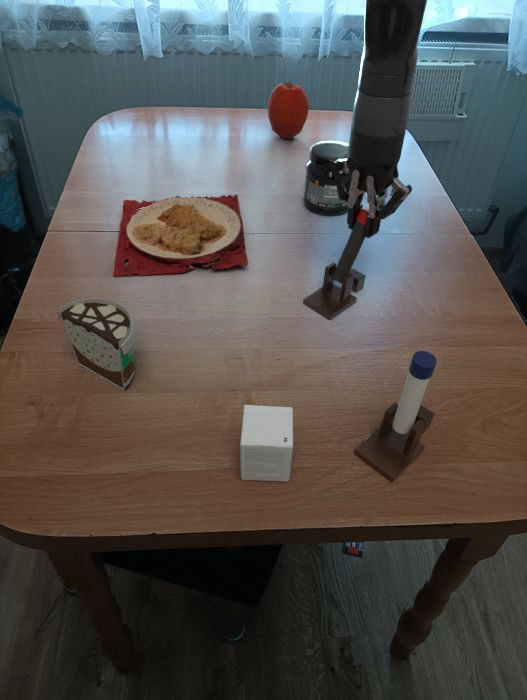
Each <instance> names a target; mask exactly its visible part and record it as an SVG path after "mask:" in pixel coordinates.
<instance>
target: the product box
mask: <svg viewBox="0 0 527 700" xmlns="http://www.w3.org/2000/svg"><path fill="white" fill-rule="evenodd" d="M241 421H242V422H241V433H240V442H239V450H240V451H239V452H240V453H239V454H240V456H239V457H240V462H239V463H240V480H241V481H259V482H260V481H261V482H283V483H284V482H285V483H288V482H290V480H291V471H292V460H293V452H294V408H293V407H292V406H273V405H256V404H255V405H254V404H244V405H243V413H242V420H241Z"/></svg>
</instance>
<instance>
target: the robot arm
mask: <svg viewBox="0 0 527 700" xmlns="http://www.w3.org/2000/svg"><path fill="white" fill-rule="evenodd" d="M427 3H428V0H365V3H364V4H365V5H364V24H363V25H364V26H363V27H364V31H363V32H364V33H363V38H364V39H363V40H364V41H363V42H364V43H363V44H364V45H363V52H362V55H361V61H360V70H359V76H358V85H357V91H356V95H355V99H354V103H353V108H352V117H351V125H350V132H349V133H350V134H349V141H348V144H349V148H348V153H349V156H348V158H347V159H346V158H342V159H339V160H337V161H336V162H334V163H332V170H333V174H334V178H335V183H336V187H337V191H338V195H339V199H340V200H342V201H343V200H345V201H346V202H347V206H348V207H349V209H348V210H347V218H346V223H347V225H348V226H347V228H348V229H349V230H351V231H352V229H353V227H354V225H355V222H356V219H357V216H358V214H359V212H360V209H361V208H363V209H364V205H363V204H362V203H363V201H364V198H365V195H366V203H367V204H368V210H369V216H368V217H367V223H366V229H365V235H364V236H365V238H366V239H371V238H373V237H374V236H375V235H376V234H378V233H379V232H380V228H381V222H382V220H385V219H387V218H388V217H390V216H391V215H394V214H395V213H396V211H397V210H398V209H399V208H400V206H402V204H403V203H404V202H405V200H406V199H407V198H408V196H409V195H410V194H411V193H412V191H413V187H412V185H411V184H408V183H407V184H406V185H405V184H404V183H403V182H402V181H401V180H400V178H399V176H400V175H399V170H398V165H399V162H400V160H401V157H402V152H403V146H404V141H405V137H406V132H407V126H408V120H409V117H410V111H411V97H412V92H413V91H412V90H413V86H414V80H415V75H416V70H417V64H418V56H419V55H418V53H419V49H418V44H419V38H420V34H421V30H422V25H423V20H424V16H425V11H426V7H427ZM351 178H352V179H351ZM344 183H345V187H346V191H345V187H344ZM390 187H391V190H390V193H389V195H390V198H389V199H388V201H387V202H386V199H387V198H388V189H389V188H390Z"/></svg>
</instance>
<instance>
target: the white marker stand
mask: <svg viewBox="0 0 527 700" xmlns="http://www.w3.org/2000/svg"><path fill="white" fill-rule="evenodd" d="M398 405H399V403H397V402H393V403H392V404H390V406H389V407H387V408H386V409H385V411H384V413H383V417H382V421H381V424H380V425H379V426H378V427H377V428H376V429H375V430H374V431H372V433H370V435H369V436H368V437H366V438H365V439H364V440H363V441H362V442H361V443H360V444H359V445H358V446H357V447H356V448H355V449H354V452H353V454H354V455H355V456H356V457H357V458H359V459H360V460H361V461H363V462H364V463H365V464H367V465H368V466H370V468H372V469H373V470H375V472H377V473H379V474H380V475H381V476H383V478H385V479H386V480H388V482H390V483H394V482H395V481H396V480H397V479H398V478H399V477H400V476H401V475H402V474H403V473H404V472H405V471H406V470H407V468H408V467H409V466H411V464H412V463H413V462H414V461H415V460H416V459H417V458H418V457H419V456H420V455H421V454H422V453H423V452H424V450H425V448H426V446H425V445H424V444H422V443H421V442H420V439H421V437H422V435H423V434H424V433H425V432H426V431H427V430H428V429H429V428H430V427H431V425H432V421H433V419H434V416H435V412H433V411H431V410H430V409H429V408H427V407H425V406H424V405H422V404H421V405H420V407H419V410H418V413H417V416H416V419H415V421H414V424H413V427H412V428H411V430H410V432H409V433H407V434H400V433H398V432H396V431H395V430H394V428H393V426H392V424H393V421H394V417H395V414H396V411H397V408H398Z"/></svg>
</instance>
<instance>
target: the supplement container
mask: <svg viewBox="0 0 527 700" xmlns="http://www.w3.org/2000/svg"><path fill="white" fill-rule="evenodd" d="M348 148H349V143H347V142H343V141H338V140H325V141H324V140H323V141H318V142H316V143H313V144H312V145H311V147H310V148H309V160H307V162H306V164H305V170H306V171H305V181H304V191H303V199H302V200H303V203H304V205H305V206H306V208H307V209H309V210H310V211H311V212H313V213H316V214H320V215H322V216H323V215H324V216H337V215H341V214H344V213H346V212H348V209H349V207H348V206H347V202H346V201H345V200H343V201H342V200H340V199H339V195H338V191H337V187H336V183H335V178H334V174H333V170H332V163H334V162H336V161H337V160H339V159H342V158H346V159H347V158H348V156H349V153H348ZM351 179H352V178H351ZM344 187H345V183H344ZM345 191H346V187H345Z"/></svg>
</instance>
